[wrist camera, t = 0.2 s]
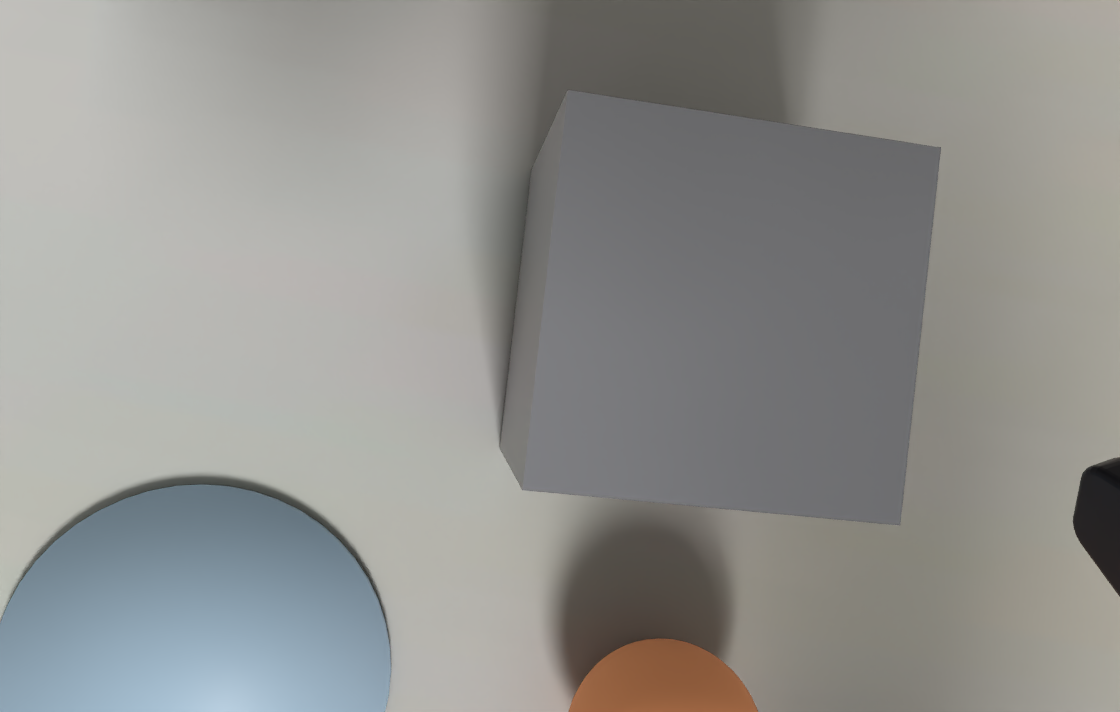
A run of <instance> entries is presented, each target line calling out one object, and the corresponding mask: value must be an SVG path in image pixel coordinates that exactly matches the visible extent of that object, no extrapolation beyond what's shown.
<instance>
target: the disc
mask: <svg viewBox="0 0 1120 712" xmlns="http://www.w3.org/2000/svg"><path fill="white" fill-rule="evenodd" d="M390 676H391V658H390V643H389V638H388V632H387V626H386V622H385V618H384V615H383V612H382V609H381V606H380V603H379V600H378V598H377V596H376V593H375V591H374V589H373V587H372V585H371V583H370V581H369V579H368V577H367V576H366V574H365V573H364V571H363V570H362V568H361V566H360V565H359V563H358V562H357V560H356V559H355V558H354V556H353V555H352V554H351V553H350V552H349V551H348V550H347V548H346V547H345V546H344V545H343V544H342V543H341V541H340V540H339V539H338V538H336V537H335V536H334V535H333V534H332V533H331V532H330V531H328V530H327V529H326V528H325V527H324V526H323V525H322V524H320V523H319V522H317V521H316V520H314V519H313V518H311V517H310V516H308V515H307V514H305V513H304V512H302V511H301V510H299V509H297V508H295V507H293V506H291V505H289V504H287V503H285V502H283V501H280V500H278V499H276V498H273V497H270V496H267V495H264V494H261V493H258V492H255V491H251V490H246V489H241V488H236V487H231V486H221V485H206V484H198V485H181V486H172V487H167V488H161V489H156V490H151V491H147V492H144V493H141V494H138V495H135V496H131V497H128V498H125V499H123V500H121V501H119V502H116V503H114V504H112V505H110V506H108V507H105V508H103V509H101V510H99V511H97V512H95V513H94V514H92V515H91V516H89V517H87V518H86V519H84V520H82V521H81V522H79V523H78V524H76V525H75V526H73V527H72V528H71V529H70V530H68V531H67V532H66V533H65V534H63V535H62V536H61V537H60V538H58V539H57V540H56V541H55V542H54V543H53V544H52V545H51V546H50V547H49V548H48V549H47V550H46V551H45V552H44V553H43V554H42V555H41V556H40V557H39V558H38V559H37V560H36V561H35V563H34V564H33V566H32V567H31V568H30V570H29V571H28V572H27V574H26V575H25V576H24V578H23V579H22V580H21V582H20V583H19V585H18V587H17V589H16V590H15V592H14V594H13V596H12V598H11V600H10V601H9V603H8V605H7V607H6V610H5V612H4V615H3V617H2V620H1V623H0V712H385V709H386V705H387V701H388V696H389V686H390Z"/></svg>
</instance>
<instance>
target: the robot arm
mask: <svg viewBox="0 0 1120 712" xmlns="http://www.w3.org/2000/svg"><path fill="white" fill-rule="evenodd" d="M1073 525H1074V530H1075V533H1076V535H1077V537H1078V539H1079V541H1080V543H1081V544H1082V546H1083V547H1084V549H1085V550H1086V551H1087V553H1088V554H1089V555H1090V557H1091V558H1092V559H1093V561H1094V562H1095V564H1096V565H1097V566H1098V568H1099V569H1100V570H1101V572H1102V573H1103V575H1104V576H1105V577H1106V579H1107V580H1108V581H1109V583H1110V584H1111V585H1112V587H1113V588H1114V590H1115V591H1116V592H1117V594H1118V595H1119V596H1120V457H1118V458H1113V459H1110V460H1107V461H1104V462H1101V463H1099V464H1096V465H1093V466H1090V467H1088V468H1087V469H1086V470H1085V471H1084V472H1083V474H1082V477H1081V481H1080V486H1079V491H1078V496H1077V501H1076V506H1075V511H1074V516H1073Z"/></svg>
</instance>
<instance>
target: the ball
mask: <svg viewBox="0 0 1120 712" xmlns="http://www.w3.org/2000/svg"><path fill="white" fill-rule="evenodd" d="M569 712H758V710H757V708H756V706H755V703H754V701H753V699H752V697H751V695H750V693H749V692H748V690H747V689H746V687H745V686H744V684H743V683H742V681H741V680H740V679H739V677H738V676H737V675H736V674H735V673H734V671H733V670H731V669H730V668H729V667H728V666H727V665H726V664H725V663H724V662H723V661H721V660H720V659H719V658H717V657H716V656H714V655H713V654H712V653H710V652H708V651H706V650H704V649H702V648H700V647H698V646H696V645H693V644H690V643H687V642H684V641H679V640H674V639H661V638H659V639H646V640H641V641H637V642H633V643H630V644H627V645H625V646H622V647H621V648H619V649H617V650H615V651H613V652H611V653H610V654H609V655H607V656H606V657H604V658H603V659H602V660H601V661H600V662H598V663H597V664H596V665H595V666H594V667H593V668H592V670H591V671H590V672H589V673H588V674H587V676H586V677H585V678H584V680H583V681H582V683H581V684H580V686H579V688H578V690H577V692H576V694H575V696H574V698H573V700H572V703H571V706H570V709H569Z"/></svg>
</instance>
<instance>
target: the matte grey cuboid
mask: <svg viewBox="0 0 1120 712" xmlns="http://www.w3.org/2000/svg"><path fill="white" fill-rule="evenodd" d="M940 152H941V148H940V147H934V146H927V145H921V144H914V143H908V142H901V141H895V140H889V139H882V138H876V137H869V136H863V135H856V134H850V133H843V132H837V131H831V130H824V129H818V128H811V127H805V126H798V125H792V124H785V123H779V122H773V121H766V120H760V119H753V118H747V117H740V116H734V115H727V114H721V113H715V112H708V111H702V110H695V109H689V108H682V107H676V106H669V105H663V104H657V103H650V102H644V101H637V100H631V99H624V98H618V97H611V96H605V95H599V94H592V93H586V92H579V91H573V90H567V92H566V95H565V97H564V99H563V101H562V103H561V106H560V108H559V110H558V112H557V114H556V117H555V119H554V121H553V123H552V125H551V128H550V130H549V132H548V134H547V136H546V139H545V141H544V143H543V145H542V147H541V150H540V152H539V154H538V156H537V158H536V161H535V163H534V165H533V167H532V170H531V176H530V185H529V194H528V203H527V211H526V220H525V229H524V238H523V247H522V255H521V264H520V273H519V282H518V291H517V299H516V308H515V317H514V326H513V335H512V343H511V352H510V361H509V370H508V379H507V387H506V396H505V405H504V414H503V422H502V431H501V440H500V450H501V452H502V453H503V455H504V457H505V459H506V461H507V463H508V464H509V466H510V468H511V470H512V472H513V474H514V476H515V477H516V479H517V481H518V483H519V485H520V487H521V488H522V490H528V491H538V492H549V493H560V494H570V495H581V496H592V497H602V498H613V499H624V500H634V501H645V502H656V503H666V504H677V505H688V506H698V507H709V508H720V509H730V510H741V511H752V512H762V513H773V514H784V515H795V516H805V517H816V518H827V519H837V520H848V521H859V522H869V523H880V524H891V525H900V522H901V512H902V503H903V494H904V485H905V475H906V466H907V457H908V448H909V439H910V429H911V420H912V411H913V402H914V392H915V383H916V374H917V365H918V355H919V346H920V337H921V328H922V318H923V309H924V300H925V291H926V282H927V272H928V263H929V254H930V245H931V235H932V226H933V217H934V208H935V198H936V189H937V180H938V171H939V162H940Z"/></svg>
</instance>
